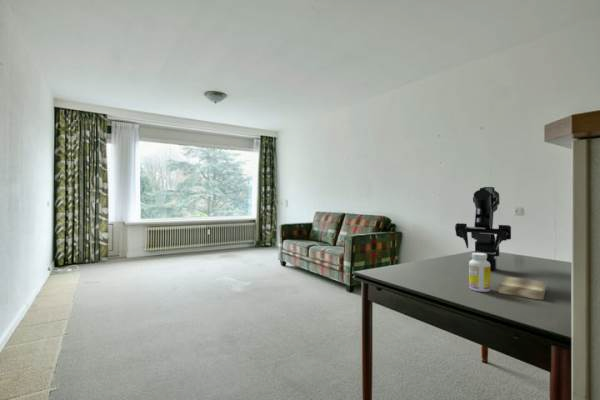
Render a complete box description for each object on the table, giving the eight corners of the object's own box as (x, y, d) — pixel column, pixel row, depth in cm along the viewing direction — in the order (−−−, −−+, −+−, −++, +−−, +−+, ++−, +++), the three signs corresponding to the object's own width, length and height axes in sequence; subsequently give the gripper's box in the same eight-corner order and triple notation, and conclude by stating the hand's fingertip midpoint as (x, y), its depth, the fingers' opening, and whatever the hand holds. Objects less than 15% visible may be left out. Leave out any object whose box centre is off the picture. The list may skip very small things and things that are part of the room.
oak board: (499, 292, 109) (499, 284, 109) (504, 284, 118) (504, 276, 118) (543, 300, 101) (543, 290, 101) (545, 290, 111) (545, 282, 110)
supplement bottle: (489, 287, 115) (489, 252, 114) (491, 293, 109) (491, 256, 108) (468, 285, 118) (468, 251, 117) (469, 291, 112) (469, 254, 111)
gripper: (511, 230, 128) (510, 263, 119) (459, 228, 138) (455, 258, 129) (511, 212, 121) (510, 245, 112) (456, 211, 131) (452, 241, 122)
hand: (481, 248), depth 119 cm, fingers open, 9 cm apart
